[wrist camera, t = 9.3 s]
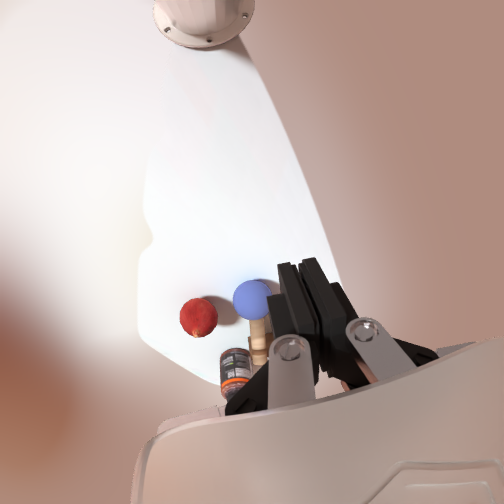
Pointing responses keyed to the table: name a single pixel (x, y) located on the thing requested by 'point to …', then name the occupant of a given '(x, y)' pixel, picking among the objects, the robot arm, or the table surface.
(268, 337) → the rail
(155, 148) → the table surface
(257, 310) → the ball
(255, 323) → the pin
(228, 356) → the supplement bottle
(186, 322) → the onion
